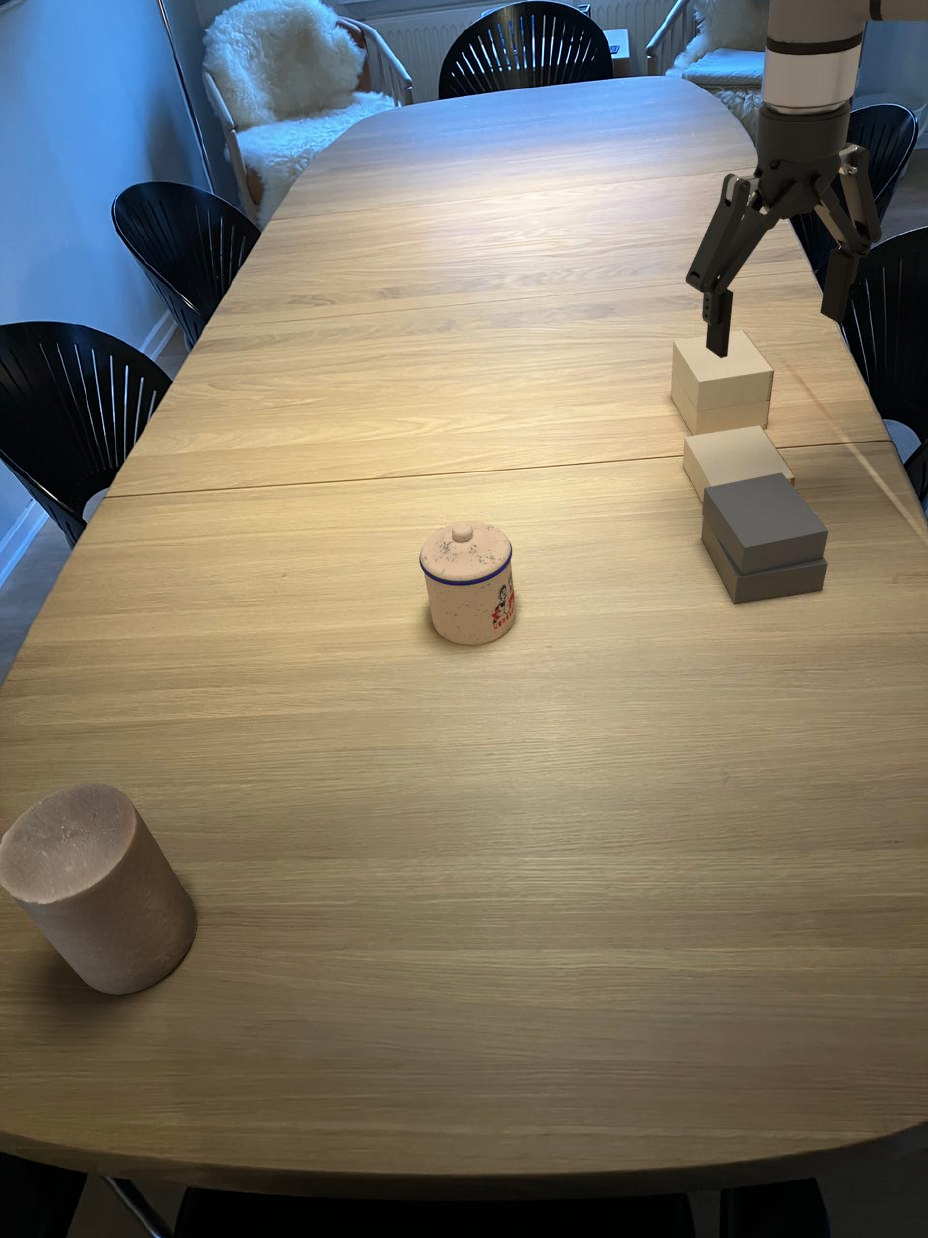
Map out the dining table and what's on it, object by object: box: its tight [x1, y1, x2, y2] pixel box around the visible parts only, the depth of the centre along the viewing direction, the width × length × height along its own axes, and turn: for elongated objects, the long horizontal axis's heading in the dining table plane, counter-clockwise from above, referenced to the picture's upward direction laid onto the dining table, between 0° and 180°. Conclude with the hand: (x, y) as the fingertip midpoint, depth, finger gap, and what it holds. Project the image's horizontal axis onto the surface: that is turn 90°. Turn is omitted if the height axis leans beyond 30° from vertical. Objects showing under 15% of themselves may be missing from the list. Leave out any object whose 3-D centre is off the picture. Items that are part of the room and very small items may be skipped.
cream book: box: [682, 425, 796, 504], centre depth 105 cm, size 9×11×4 cm
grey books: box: [700, 472, 829, 605], centre depth 94 cm, size 9×11×7 cm
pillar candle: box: [0, 782, 198, 996], centre depth 67 cm, size 10×10×15 cm
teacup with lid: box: [418, 521, 517, 646], centre depth 92 cm, size 12×9×12 cm
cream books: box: [670, 329, 775, 436], centre depth 116 cm, size 9×11×8 cm
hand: (774, 334), depth 93 cm, fingers open, 13 cm apart
